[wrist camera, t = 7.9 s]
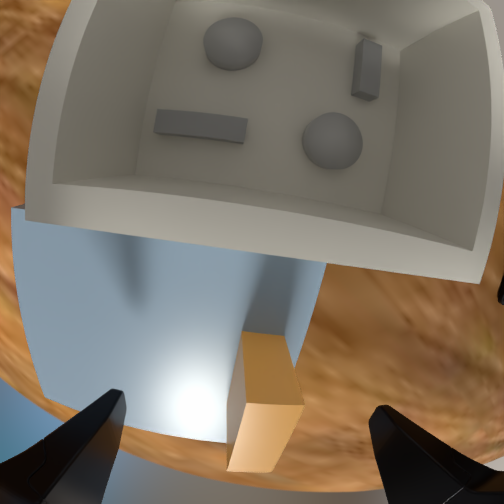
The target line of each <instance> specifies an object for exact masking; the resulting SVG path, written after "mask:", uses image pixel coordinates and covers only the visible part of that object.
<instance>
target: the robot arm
mask: <svg viewBox="0 0 504 504" xmlns="http://www.w3.org/2000/svg"><path fill="white" fill-rule="evenodd" d="M498 302H499V303H501V304H502V305H504V282H503V285H502V288H501V291H500V293H499V296H498ZM126 411H127V406H126V400H125V395H124V392H123V391H122V390H118V389H114V388H112V389H110V390H109V391H107V392H106V393H105V394H103V395H102V396H101V397H99V398H98V399H97V400H95V401H94V402H93V403H91V404H90V405H89V406H87V407H86V408H84V409H83V410H82V411H80V412H79V413H78V414H76V415H75V416H74V417H72V418H71V419H69V420H68V421H67V422H65V423H64V424H63V425H61V426H60V427H58V428H57V429H56V430H54V431H53V432H52V433H50V434H49V435H47V436H46V437H45V438H44V440H43V439H42V440H40V441H39V442H37V443H36V444H35V445H33V446H31V447H30V448H28V449H27V450H25V451H24V452H22V453H20V454H18V455H16V456H14V457H12V458H10V459H8V460H6V461H4V462H2V463H0V504H101V502H102V499H103V496H104V493H105V489H106V486H107V482H108V480H109V477H110V473H111V470H112V467H113V464H114V461H115V458H116V455H117V452H118V449H119V445H120V440H121V435H122V430H123V425H124V420H125V416H126ZM369 429H370V434H371V439H372V445H373V450H374V455H375V459H376V462H377V465H378V469H379V472H380V476H381V479H382V482H383V486H384V489H385V492H386V497H387V500H388V504H504V471H497V470H494V469H491V468H489V467H487V466H485V465H483V464H480V463H478V462H476V461H474V460H472V459H470V458H468V457H467V456H465V455H463V454H461V453H460V452H458V451H456V450H455V449H453V448H451V447H450V446H449V445H447V444H445V443H444V442H442V441H441V440H439V439H438V438H436V437H435V436H433V435H432V434H430V433H429V432H427V431H426V430H424V429H423V428H421V427H420V426H418V425H417V424H415V423H414V422H412V421H411V420H409V419H408V418H406V417H405V416H404V415H402V414H401V413H399V412H398V411H396V410H395V409H393V408H392V407H391V406H389V405H380V406H378V407H377V408H376V409H375V411H374V413H373V414H372V416H371V417H370V419H369Z"/></svg>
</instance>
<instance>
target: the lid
mask: <svg viewBox="0 0 504 504" xmlns="http://www.w3.org/2000/svg"><path fill="white" fill-rule="evenodd" d="M11 229H12V249H13V262H14V272H15V280H16V287H17V294H18V300H19V306H20V311H21V316H22V321H23V326H24V330H25V334H26V338H27V342H28V346H29V350H30V354H31V357H32V361H33V364H34V367H35V370H36V373H37V376H38V379H39V382H40V385H41V388H42V391H43V393H44V396H45V397H46V398H48V399H50V400H53V401H55V402H58V403H60V404H62V405H65V406H68V407H70V408H73V409H76V410H78V411H82V410H83V409H84V408H86V407H87V406H89V405H90V404H91V403H93V402H94V401H95V400H97V399H98V398H99V397H101V396H102V395H103V394H105V393H106V392H107V391H109V390H110V389H112V388H114V389H118V390H122V391H123V392H124V395H125V400H126V406H127V411H126V416H125V420H124V425H127V426H130V427H134V428H138V429H143V430H147V431H152V432H156V433H161V434H166V435H172V436H178V437H184V438H190V439H197V440H205V441H213V442H223V443H227V471H235V472H272V470H273V469H274V467H275V465H276V463H277V461H278V459H279V458H280V456H281V454H282V452H283V450H284V448H285V446H286V444H287V442H288V440H289V438H290V436H291V434H292V432H293V430H294V428H295V426H296V424H297V422H298V420H299V418H300V416H301V413H302V411H303V409H304V407H305V403H304V399H303V396H302V393H301V389H300V386H299V383H298V379H297V376H296V373H295V369H294V368H295V365H296V362H297V359H298V356H299V353H300V350H301V347H302V344H303V341H304V338H305V335H306V332H307V329H308V326H309V322H310V319H311V316H312V313H313V309H314V306H315V303H316V299H317V296H318V292H319V289H320V285H321V282H322V278H323V275H324V271H325V267H326V264H327V263H325V262H318V261H311V260H304V259H296V258H289V257H282V256H275V255H268V254H261V253H254V252H246V251H239V250H232V249H225V248H218V247H211V246H204V245H196V244H189V243H182V242H175V241H168V240H161V239H154V238H146V237H139V236H132V235H125V234H118V233H111V232H104V231H96V230H89V229H82V228H75V227H68V226H61V225H54V224H47V223H39V222H32V221H25V204H23V205H19V206H15V207H11Z"/></svg>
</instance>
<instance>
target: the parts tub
mask: <svg viewBox="0 0 504 504" xmlns="http://www.w3.org/2000/svg"><path fill="white" fill-rule="evenodd" d="M503 178H504V71H503V63H502V56H501V50H500V45H499V40H498V35H497V30H496V26H495V22H494V18H493V14H492V10H491V8H490V7H489V6H488V5H487V4H486V3H485V2H483V1H482V0H72V1H71V3H70V5H69V7H68V9H67V12H66V14H65V16H64V18H63V21H62V23H61V26H60V28H59V30H58V33H57V36H56V38H55V41H54V44H53V46H52V49H51V52H50V55H49V58H48V61H47V65H46V68H45V71H44V75H43V79H42V82H41V86H40V90H39V94H38V98H37V103H36V108H35V113H34V118H33V123H32V129H31V136H30V143H29V151H28V160H27V171H26V187H25V221H32V222H39V223H47V224H54V225H61V226H68V227H75V228H82V229H89V230H96V231H104V232H111V233H118V234H125V235H132V236H139V237H146V238H154V239H161V240H168V241H175V242H182V243H189V244H196V245H204V246H211V247H218V248H225V249H232V250H239V251H246V252H254V253H261V254H268V255H275V256H282V257H289V258H296V259H304V260H311V261H318V262H325V263H332V264H339V265H347V266H354V267H361V268H368V269H375V270H382V271H390V272H397V273H404V274H411V275H418V276H425V277H433V278H440V279H447V280H454V281H461V282H469V283H476V284H480V281H481V278H482V275H483V272H484V268H485V265H486V262H487V258H488V255H489V251H490V247H491V243H492V239H493V235H494V231H495V226H496V221H497V216H498V211H499V206H500V200H501V193H502V186H503Z"/></svg>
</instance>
